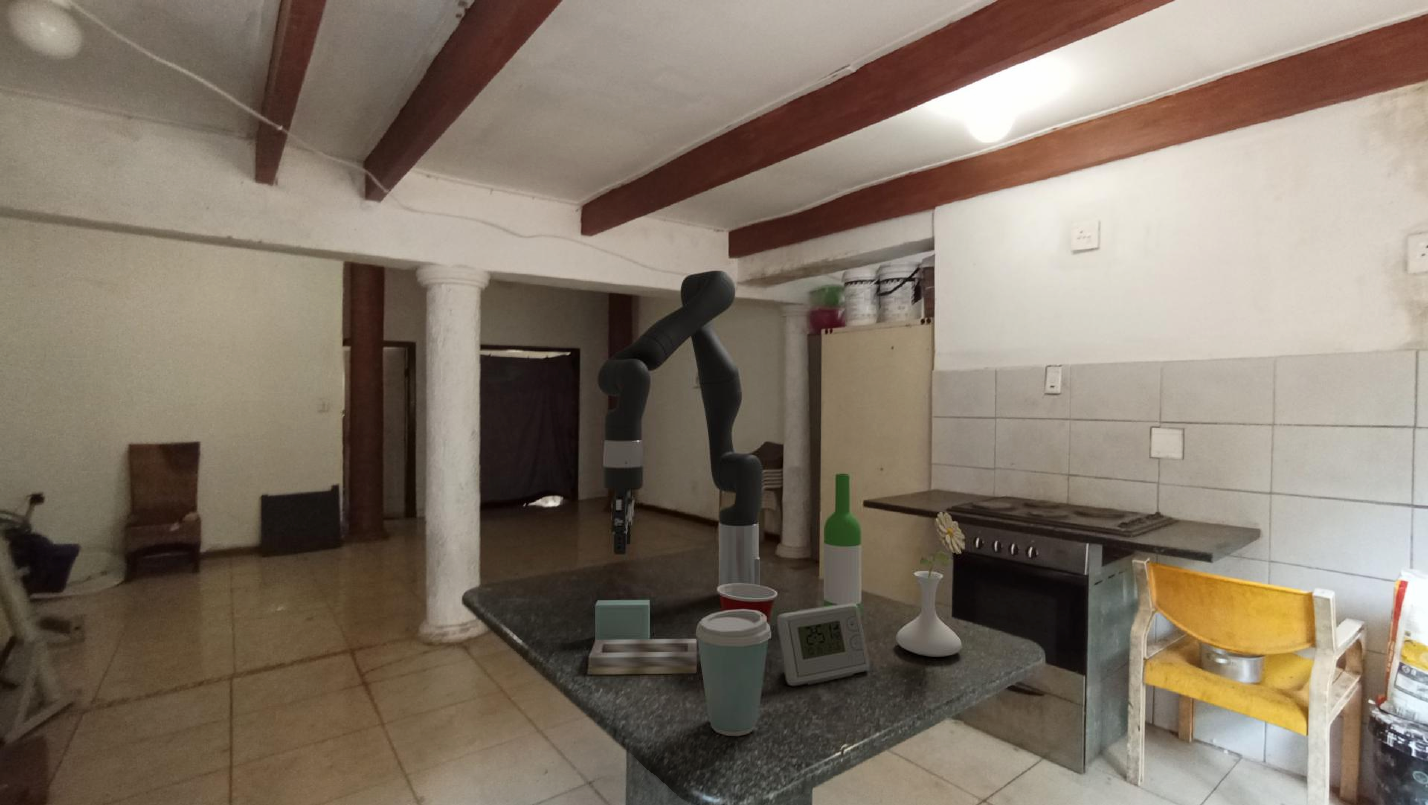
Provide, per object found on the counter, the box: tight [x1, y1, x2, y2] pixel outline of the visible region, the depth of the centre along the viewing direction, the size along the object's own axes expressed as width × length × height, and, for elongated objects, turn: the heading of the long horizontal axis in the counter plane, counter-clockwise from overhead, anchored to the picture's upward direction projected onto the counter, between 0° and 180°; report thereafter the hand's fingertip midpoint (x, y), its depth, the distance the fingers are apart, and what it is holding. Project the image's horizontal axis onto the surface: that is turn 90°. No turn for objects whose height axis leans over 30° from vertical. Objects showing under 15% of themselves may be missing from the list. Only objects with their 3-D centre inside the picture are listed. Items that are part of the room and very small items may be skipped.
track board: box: [587, 638, 698, 675], centre depth 110 cm, size 18×10×2 cm, turn 92°
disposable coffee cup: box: [695, 609, 772, 737], centre depth 88 cm, size 11×11×15 cm
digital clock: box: [776, 603, 870, 687], centre depth 105 cm, size 16×9×11 cm, turn 103°
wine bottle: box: [823, 473, 862, 616], centre depth 134 cm, size 8×8×30 cm
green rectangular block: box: [594, 599, 651, 642], centre depth 121 cm, size 10×3×7 cm, turn 92°
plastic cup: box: [716, 583, 778, 625], centre depth 112 cm, size 11×11×12 cm
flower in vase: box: [895, 511, 966, 658], centre depth 116 cm, size 13×11×25 cm
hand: (622, 548), depth 121 cm, fingers open, 8 cm apart
